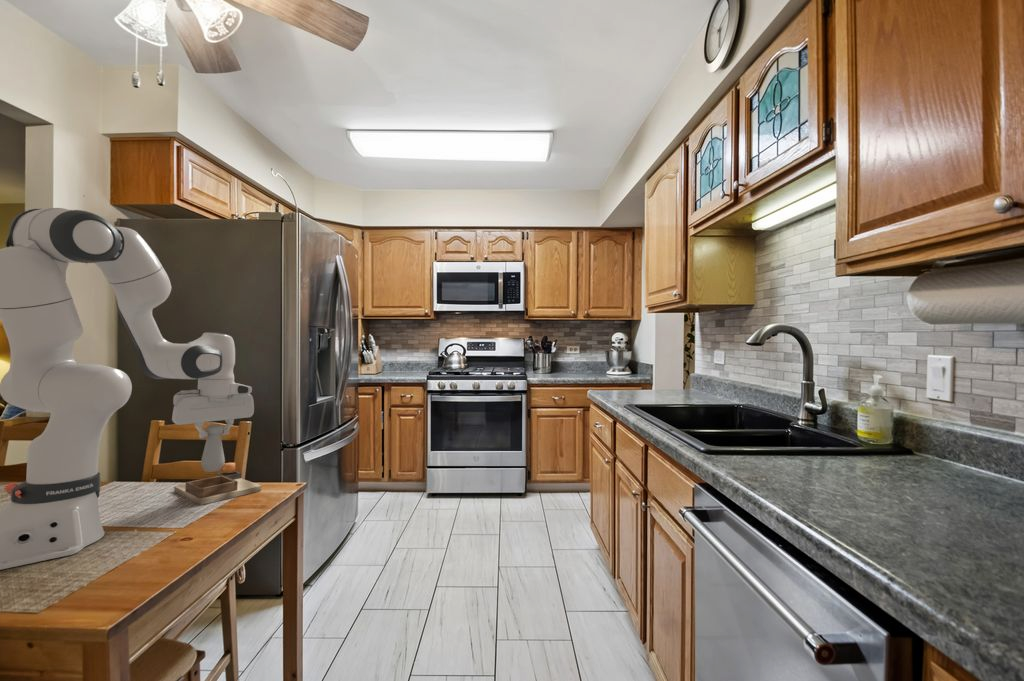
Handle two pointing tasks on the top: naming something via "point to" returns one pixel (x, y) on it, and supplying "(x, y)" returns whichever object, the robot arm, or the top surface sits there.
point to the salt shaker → (213, 449)
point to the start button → (229, 468)
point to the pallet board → (217, 488)
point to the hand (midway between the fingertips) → (214, 436)
